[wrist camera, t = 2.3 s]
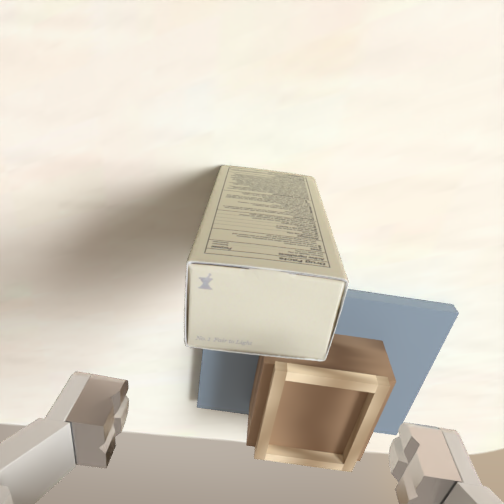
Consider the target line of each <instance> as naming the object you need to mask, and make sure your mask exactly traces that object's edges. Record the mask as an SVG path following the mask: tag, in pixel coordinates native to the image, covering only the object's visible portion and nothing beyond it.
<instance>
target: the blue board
mask: <svg viewBox="0 0 504 504" xmlns="http://www.w3.org/2000/svg"><path fill="white" fill-rule="evenodd" d="M458 314H459V313H458V311H457V310H456V308H455V307H454V305H452V304H445V303H438V302H431V301H424V300H418V299H411V298H404V297H397V296H391V295H384V294H377V293H370V292H363V291H357V290H350V289H348V290H347V293H346V296H345V300H344V304H343V307H342V311H341V314H340V317H339V320H338V323H337V327H336V330H335V333H334V334H340V335H347V336H354V337H361V338H368V339H375V340H382V341H383V343H384V346H385V349H386V352H387V355H388V358H389V361H390V364H391V367H392V370H393V373H394V376H395V379H396V384H395V386H394V388H393V390H392V392H391V394H390V397H389V399H388V401H387V403H386V405H385V407H384V410H383V412H382V414H381V416H380V418H379V420H378V422H377V425H376V427H375V429H374V431H373V432H377V433H385V434H392V435H397V433H398V429H399V427H400V425H401V424H402V423H403V421H404V419H405V417H406V415H407V413H408V412H409V410H410V408H411V406H412V404H413V402H414V400H415V398H416V396H417V394H418V392H419V390H420V388H421V386H422V384H423V382H424V380H425V378H426V376H427V374H428V372H429V370H430V368H431V367H432V365H433V363H434V361H435V359H436V357H437V355H438V353H439V351H440V349H441V347H442V345H443V343H444V341H445V339H446V337H447V335H448V333H449V331H450V329H451V327H452V325H453V324H454V322H455V320H456V318H457V316H458ZM258 359H259V355H250V354H242V353H233V352H224V351H215V350H208V349H203V354H202V363H201V373H200V383H199V392H198V402H197V407H198V408H205V409H213V410H220V411H227V412H234V413H241V414H248V415H249V403H250V398H251V393H252V388H253V383H254V378H255V373H256V368H257V364H258Z"/></svg>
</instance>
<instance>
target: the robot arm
mask: <svg viewBox="0 0 504 504" xmlns="http://www.w3.org/2000/svg"><path fill="white" fill-rule="evenodd" d="M127 391H128V381H127V380H123V379H117V378H112V377H107V376H101V375H96V374H89V373H83V372H77V371H76V372H75V373H74V374H73V375H71V377H70V378H69V380H68V382H67V383H66V385H65V387H64V388H63V390H62V391H61V393H60V395H59V396H58V398H57V399H56V401H55V403H54V404H53V406H52V408H51V409H50V411H49V412H48V414H47V416H46V417H45V418H38V419H37V420H35V421H34V422H32V423H31V424H29V425H27V426H26V427H24V428H23V429H21V430H20V431H18V432H16V433H15V434H13V435H12V436H10V437H8V438H7V439H5V440H4V441H2V442H0V504H35V503H36V502H37V501H38V500H39V499H40V498H42V497H43V496H44V495H45V494H46V493H47V492H48V491H49V490H50V489H52V488H53V487H54V486H55V485H56V484H57V483H58V482H59V481H60V480H62V479H63V477H65V476H66V475H67V474H68V473H69V472H70V471H72V470H73V469H74V468H75V467H76V465H84V466H91V467H99V468H107V466H108V464H109V461H110V459H111V456H112V454H113V451H114V449H115V446H116V445H115V444H116V443H115V436H117V435H118V434H119V433H121V432H122V429H123V427H124V424H125V421H126V417H127V413H128V407H129V399H128V398H127V396H126V393H127ZM398 432H399V437H397V438H395V439H393V441H392V443H391V446H390V450H389V464H390V469H391V473H392V475H393V476H394V477H395V478H396V479H397V481H398V485H397V486H396V489H395V490H396V494H397V498H398V502H399V504H504V503H503V502H502V501H501V500H500V499H499V498H498V497H497V496H496V495H495V494H494V493H493V492H492V491H491V490H490V489H489V488H488V487H486V486H482V484H481V482H480V480H479V477H478V475H477V473H476V471H475V468H474V467H473V464H472V462H471V459H470V457H469V455H468V453H467V450H466V448H465V446H464V444H463V441H462V439H461V437H460V435H459V433H458V432H457V431H456V430H451V429H445V428H437V427H434V426H427V425H419V424H412V423H405V422H404V423H403V424H401V425H400V427H399V429H398Z"/></svg>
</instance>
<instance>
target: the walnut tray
mask: <svg viewBox="0 0 504 504" xmlns="http://www.w3.org/2000/svg"><path fill="white" fill-rule="evenodd" d="M395 384H396V379H395V376H394V373H393V370H392V367H391V364H390V361H389V358H388V355H387V352H386V349H385V346H384V343H383V341H382V340H375V339H368V338H361V337H354V336H347V335H340V334H334V336H333V339H332V343H331V346H330V348H329V352H328V355H327V358H326V360H325V361H312V360H301V359H292V358H280V357H270V356H261V355H259V359H258V364H257V368H256V373H255V378H254V383H253V388H252V393H251V398H250V403H249V417H248V430H247V444H246V445H247V446H254V447H255V454H254V458H255V459H261V460H268V461H275V462H283V463H290V464H297V465H304V466H312V467H319V468H326V469H333V470H341V471H348V472H352V470H353V468H354V466H355V463H356V461H360V459H361V457H362V455H363V453H364V451H365V448H366V446H367V444H368V442H369V440H370V438H371V435H372V433H373V431H374V429H375V427H376V425H377V422H378V420H379V418H380V416H381V414H382V412H383V410H384V407H385V405H386V403H387V401H388V399H389V397H390V394H391V392H392V390H393V388H394V386H395Z"/></svg>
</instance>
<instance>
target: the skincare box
mask: <svg viewBox="0 0 504 504" xmlns="http://www.w3.org/2000/svg"><path fill="white" fill-rule="evenodd" d="M348 286H349V281H348V278H347V276H346V273H345V270H344V267H343V264H342V260H341V258H340V255H339V252H338V249H337V246H336V242H335V240H334V237H333V233H332V230H331V227H330V224H329V221H328V218H327V215H326V212H325V209H324V206H323V203H322V200H321V197H320V194H319V191H318V188H317V185H316V181H315V179H314V178H313V177H311V176H305V175H298V174H292V173H284V172H277V171H270V170H262V169H254V168H246V167H237V166H227V165H222V166H221V167H220V170H219V173H218V176H217V178H216V181H215V184H214V187H213V190H212V193H211V195H210V198H209V201H208V204H207V207H206V209H205V212H204V215H203V218H202V221H201V224H200V226H199V229H198V232H197V235H196V237H195V240H194V243H193V246H192V249H191V251H190V254H189V257H188V260H187V268H186V284H185V306H184V342H185V345H186V346H187V347H193V348H200V349H208V350H215V351H224V352H233V353H242V354H250V355H261V356H270V357H280V358H292V359H301V360H312V361H325V360H326V358H327V355H328V352H329V348H330V346H331V343H332V339H333V336H334V333H335V330H336V327H337V323H338V320H339V317H340V314H341V311H342V307H343V304H344V300H345V296H346V293H347V290H348Z"/></svg>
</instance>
